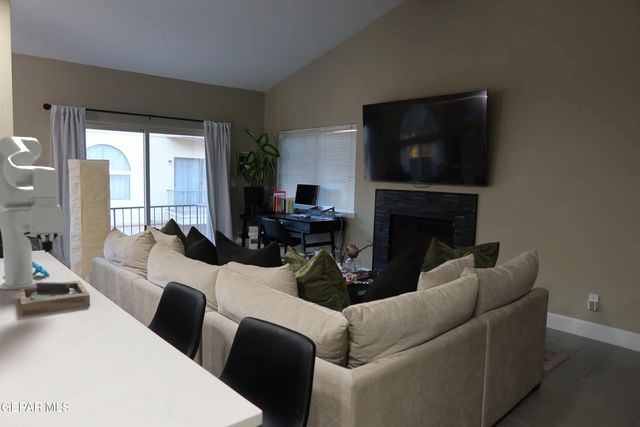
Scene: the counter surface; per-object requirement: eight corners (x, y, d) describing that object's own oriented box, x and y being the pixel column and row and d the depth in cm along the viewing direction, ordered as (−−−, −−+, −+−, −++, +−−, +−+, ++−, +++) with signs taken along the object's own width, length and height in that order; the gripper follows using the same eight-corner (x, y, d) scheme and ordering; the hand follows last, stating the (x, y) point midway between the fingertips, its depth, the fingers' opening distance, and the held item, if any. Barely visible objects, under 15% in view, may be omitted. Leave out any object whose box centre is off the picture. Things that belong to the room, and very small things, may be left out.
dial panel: (19, 298, 163) (18, 287, 163) (80, 290, 175) (79, 279, 174) (22, 315, 144) (21, 303, 143) (90, 305, 156) (90, 294, 155)
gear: (48, 275, 192) (29, 260, 189) (37, 285, 190) (18, 270, 187) (52, 273, 202) (34, 258, 199) (42, 283, 200) (23, 268, 198)
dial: (21, 302, 152) (20, 287, 152) (47, 291, 166) (47, 277, 166) (60, 303, 152) (59, 288, 151) (83, 292, 166) (83, 278, 165)
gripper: (21, 203, 151) (23, 255, 153) (70, 202, 160) (72, 251, 162) (20, 201, 157) (22, 251, 159) (68, 200, 166) (69, 248, 168)
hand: (47, 251), depth 161 cm, fingers closed
